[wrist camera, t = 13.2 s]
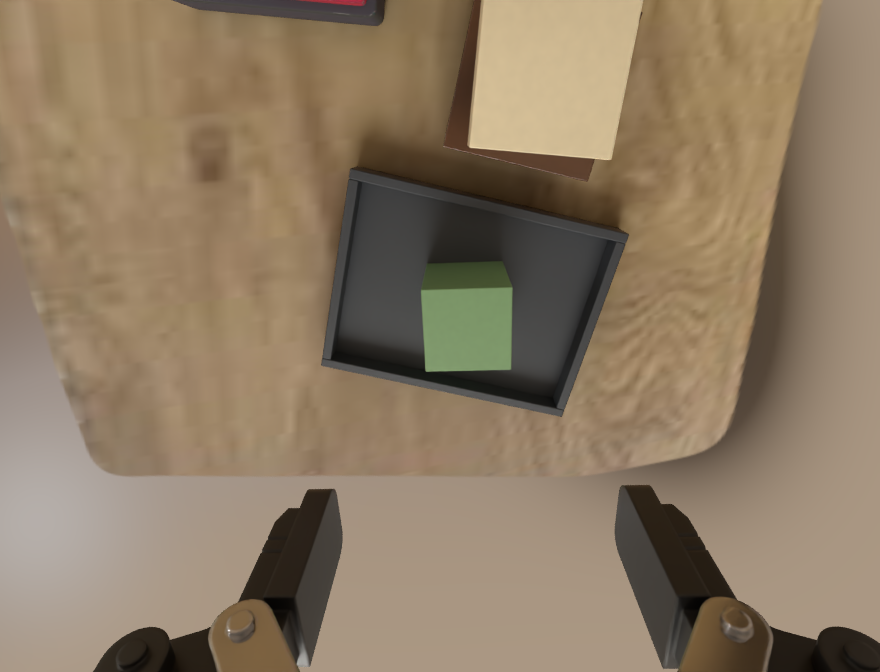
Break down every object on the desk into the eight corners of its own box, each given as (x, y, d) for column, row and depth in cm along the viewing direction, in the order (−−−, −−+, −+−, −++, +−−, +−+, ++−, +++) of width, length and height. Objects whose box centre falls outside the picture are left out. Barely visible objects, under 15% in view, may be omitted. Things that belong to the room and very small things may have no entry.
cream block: (481, 1, 24) (486, -24, 20) (616, 13, 24) (645, -10, 20) (467, 145, 26) (469, 147, 22) (589, 156, 26) (611, 160, 23)
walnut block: (476, -6, 27) (480, -31, 23) (614, 30, 28) (642, 11, 24) (444, 145, 30) (443, 146, 26) (569, 175, 31) (587, 182, 27)
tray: (356, 166, 31) (350, 168, 29) (618, 228, 32) (629, 234, 30) (328, 353, 36) (320, 366, 34) (556, 402, 37) (562, 417, 35)
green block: (426, 263, 33) (420, 289, 27) (502, 260, 32) (512, 286, 27) (430, 333, 34) (425, 371, 29) (502, 331, 34) (511, 369, 29)
